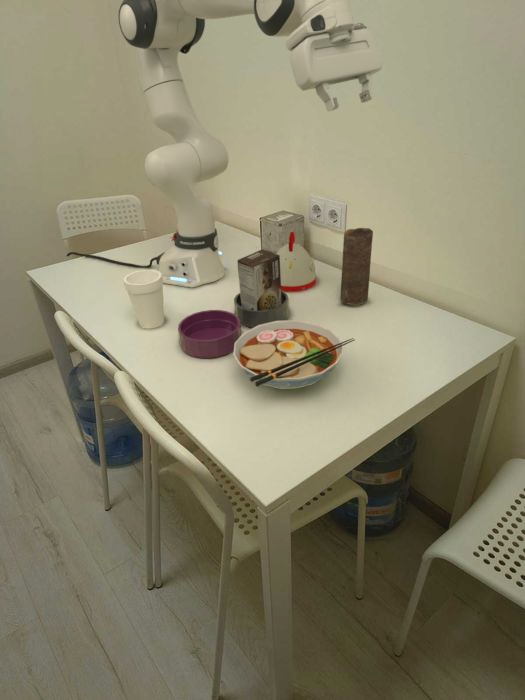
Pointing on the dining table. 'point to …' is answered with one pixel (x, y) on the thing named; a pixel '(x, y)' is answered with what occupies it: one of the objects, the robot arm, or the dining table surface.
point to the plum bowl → (209, 333)
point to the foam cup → (146, 296)
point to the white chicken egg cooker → (296, 267)
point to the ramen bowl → (288, 353)
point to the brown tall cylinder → (356, 265)
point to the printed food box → (260, 281)
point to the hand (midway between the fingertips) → (350, 105)
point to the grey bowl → (261, 312)
